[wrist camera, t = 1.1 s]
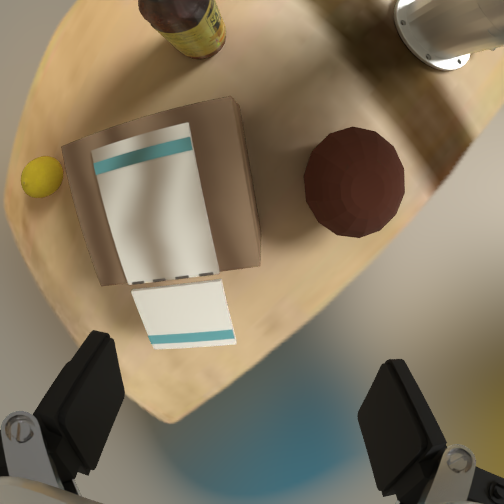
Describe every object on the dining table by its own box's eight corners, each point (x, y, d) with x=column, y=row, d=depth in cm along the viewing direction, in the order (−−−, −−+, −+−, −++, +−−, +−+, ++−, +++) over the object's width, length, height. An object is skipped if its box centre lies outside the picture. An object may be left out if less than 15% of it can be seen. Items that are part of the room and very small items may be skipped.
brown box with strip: (239, 106, 33) (230, 95, 23) (260, 232, 39) (260, 268, 29) (104, 140, 34) (57, 147, 24) (132, 252, 40) (98, 288, 30)
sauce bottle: (236, 47, 30) (208, -32, 11) (188, 69, 31) (116, 15, 12) (215, 8, 28) (174, -82, 9) (169, 29, 29) (93, -39, 10)
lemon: (60, 145, 34) (24, 151, 27) (79, 173, 36) (45, 185, 29) (40, 170, 36) (5, 181, 28) (58, 197, 37) (25, 213, 30)
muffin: (291, 130, 34) (303, 129, 24) (379, 125, 33) (416, 126, 23) (302, 225, 38) (314, 256, 29) (383, 216, 37) (417, 243, 28)
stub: (221, 278, 30) (220, 281, 29) (236, 341, 33) (236, 344, 32) (132, 289, 31) (130, 291, 30) (155, 346, 34) (153, 349, 33)
